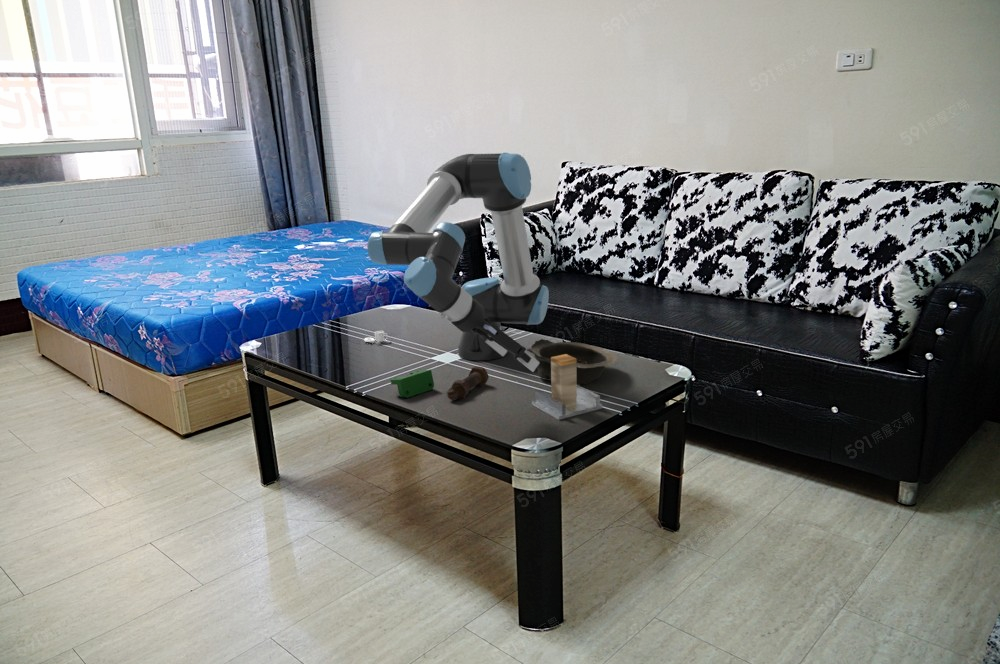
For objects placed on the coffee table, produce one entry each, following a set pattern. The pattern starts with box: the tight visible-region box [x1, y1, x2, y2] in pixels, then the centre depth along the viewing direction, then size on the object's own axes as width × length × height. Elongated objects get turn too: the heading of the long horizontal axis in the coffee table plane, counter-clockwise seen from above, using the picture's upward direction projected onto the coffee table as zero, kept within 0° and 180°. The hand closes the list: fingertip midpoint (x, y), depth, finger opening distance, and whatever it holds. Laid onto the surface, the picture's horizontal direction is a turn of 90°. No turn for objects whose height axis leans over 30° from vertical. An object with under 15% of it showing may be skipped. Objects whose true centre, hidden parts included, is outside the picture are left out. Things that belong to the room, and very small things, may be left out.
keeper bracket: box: [531, 385, 603, 421], centre depth 188 cm, size 12×13×4 cm
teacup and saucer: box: [363, 330, 388, 343], centre depth 248 cm, size 9×8×4 cm
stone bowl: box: [526, 338, 618, 386], centre depth 209 cm, size 25×25×9 cm
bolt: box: [446, 365, 490, 401], centre depth 200 cm, size 6×5×15 cm
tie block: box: [550, 354, 577, 407], centre depth 186 cm, size 4×4×12 cm
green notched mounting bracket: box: [389, 369, 435, 399], centre depth 202 cm, size 11×6×8 cm, turn 128°
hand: (520, 359), depth 180 cm, fingers open, 13 cm apart
